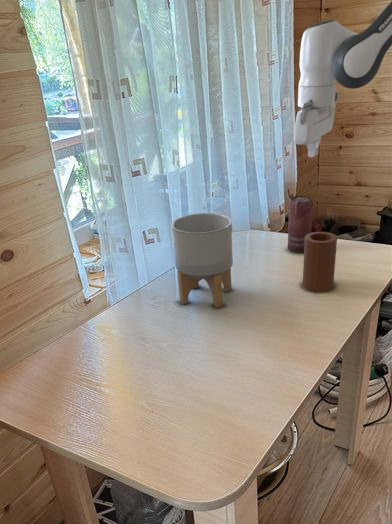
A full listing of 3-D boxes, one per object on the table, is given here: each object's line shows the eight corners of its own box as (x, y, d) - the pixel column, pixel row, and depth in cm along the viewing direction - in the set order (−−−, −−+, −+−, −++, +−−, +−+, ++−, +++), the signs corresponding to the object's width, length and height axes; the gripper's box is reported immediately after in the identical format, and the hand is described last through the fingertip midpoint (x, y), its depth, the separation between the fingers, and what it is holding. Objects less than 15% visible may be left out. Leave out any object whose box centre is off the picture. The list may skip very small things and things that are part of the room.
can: (285, 252, 140) (286, 201, 133) (290, 244, 145) (292, 194, 138) (307, 254, 138) (310, 202, 131) (312, 245, 143) (315, 195, 135)
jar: (336, 282, 123) (340, 233, 116) (327, 294, 118) (331, 244, 111) (308, 277, 126) (311, 230, 120) (298, 289, 121) (300, 240, 114)
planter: (244, 299, 118) (242, 224, 109) (194, 314, 114) (188, 237, 104) (216, 279, 128) (213, 209, 119) (169, 293, 124) (162, 220, 114)
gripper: (314, 104, 119) (311, 166, 126) (340, 92, 133) (336, 148, 141) (289, 104, 122) (287, 164, 129) (317, 92, 136) (313, 147, 144)
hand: (312, 156), depth 135 cm, fingers closed
